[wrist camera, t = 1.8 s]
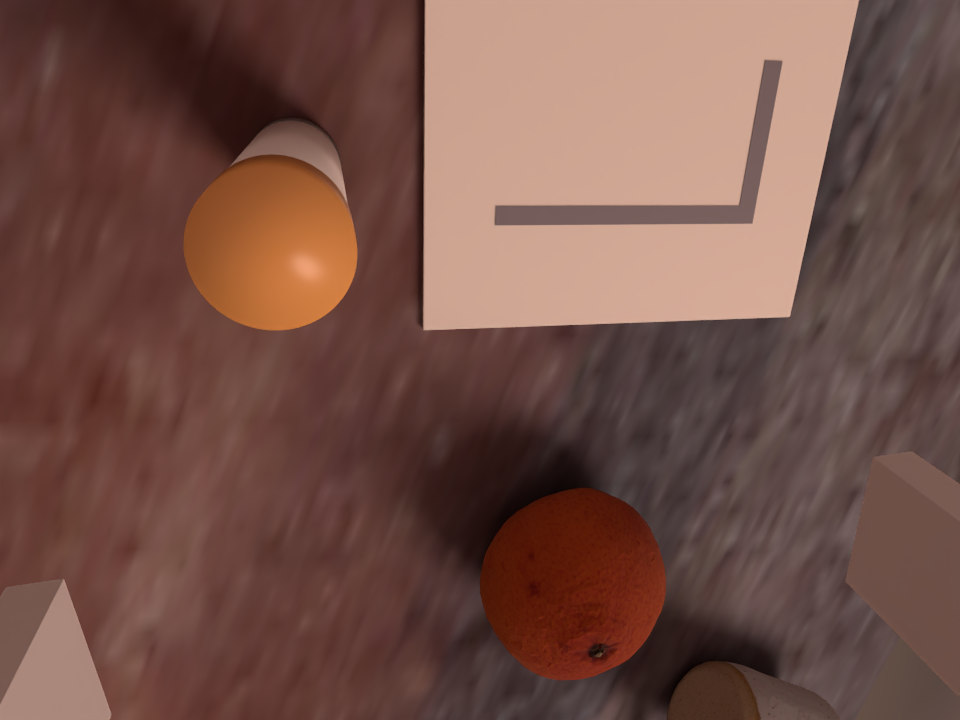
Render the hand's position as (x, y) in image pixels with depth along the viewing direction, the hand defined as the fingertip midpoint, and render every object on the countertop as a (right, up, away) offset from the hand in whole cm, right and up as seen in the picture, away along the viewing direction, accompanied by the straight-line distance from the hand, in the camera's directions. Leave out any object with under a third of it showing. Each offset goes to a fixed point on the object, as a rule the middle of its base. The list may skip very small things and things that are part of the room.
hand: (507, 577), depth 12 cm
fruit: (+3, -6, +26) cm, 27 cm away
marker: (-8, +11, +16) cm, 21 cm away
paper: (+6, +13, +18) cm, 23 cm away
